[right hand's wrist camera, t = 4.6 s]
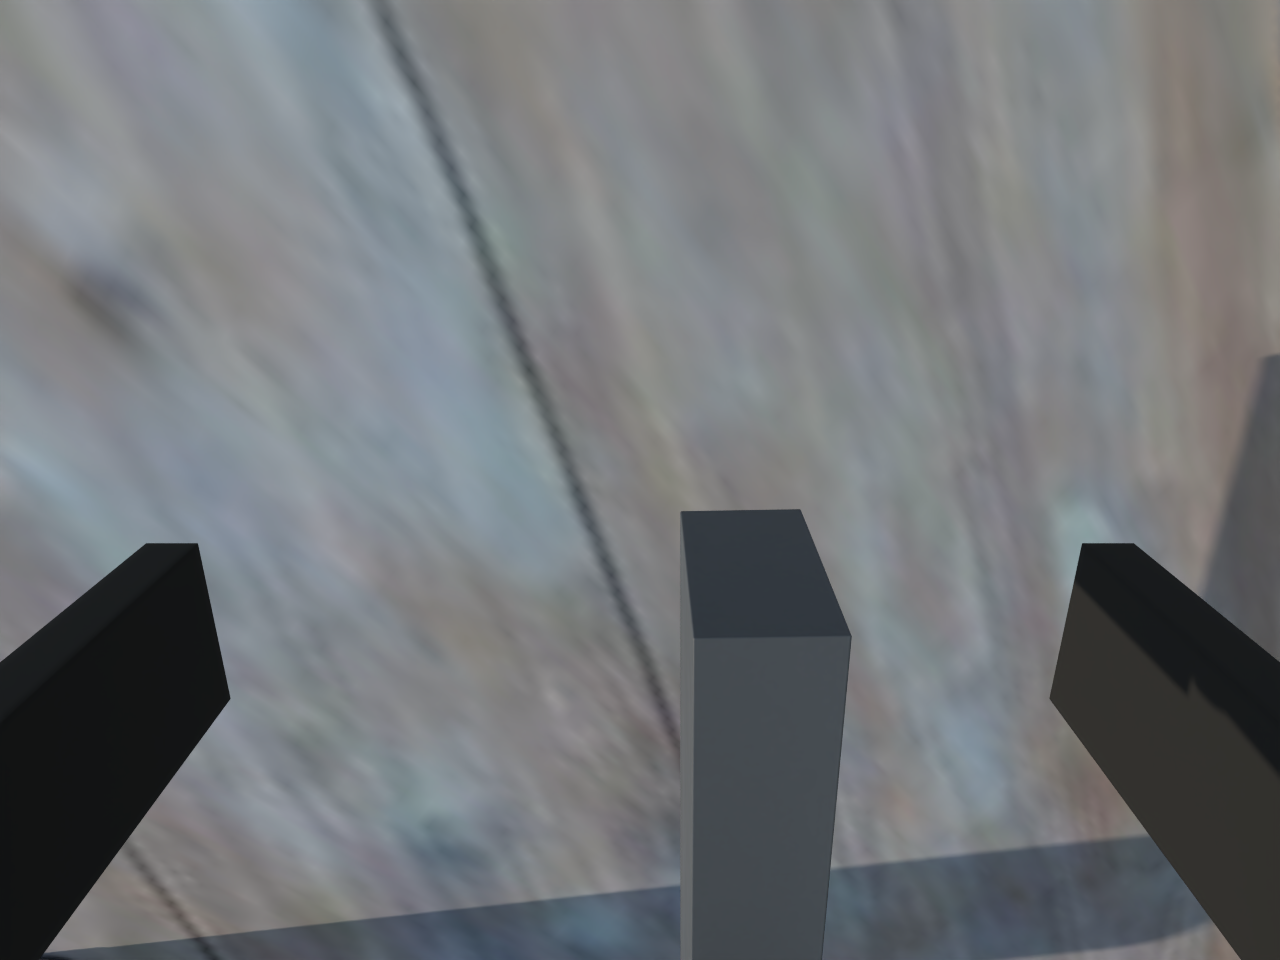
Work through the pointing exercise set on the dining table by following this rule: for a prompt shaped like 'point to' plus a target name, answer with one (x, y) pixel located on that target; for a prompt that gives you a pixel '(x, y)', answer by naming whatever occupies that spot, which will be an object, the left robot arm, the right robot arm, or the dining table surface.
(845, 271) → the dining table surface
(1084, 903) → the dining table surface
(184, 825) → the dining table surface
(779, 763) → the bar
